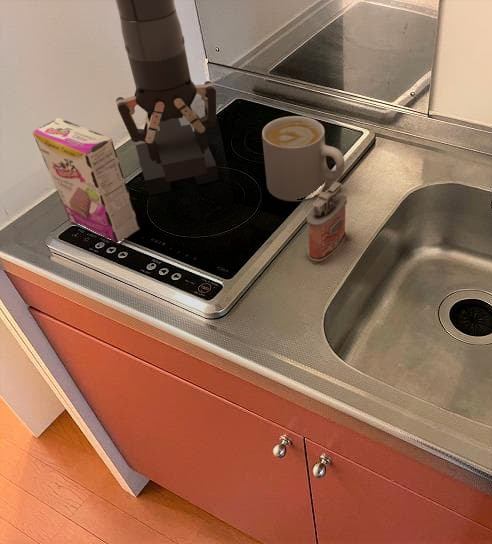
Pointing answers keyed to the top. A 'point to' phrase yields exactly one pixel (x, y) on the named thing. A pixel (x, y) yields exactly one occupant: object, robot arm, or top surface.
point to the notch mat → (156, 175)
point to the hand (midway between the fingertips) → (179, 156)
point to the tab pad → (179, 151)
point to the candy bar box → (88, 178)
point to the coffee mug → (297, 157)
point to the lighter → (327, 225)
